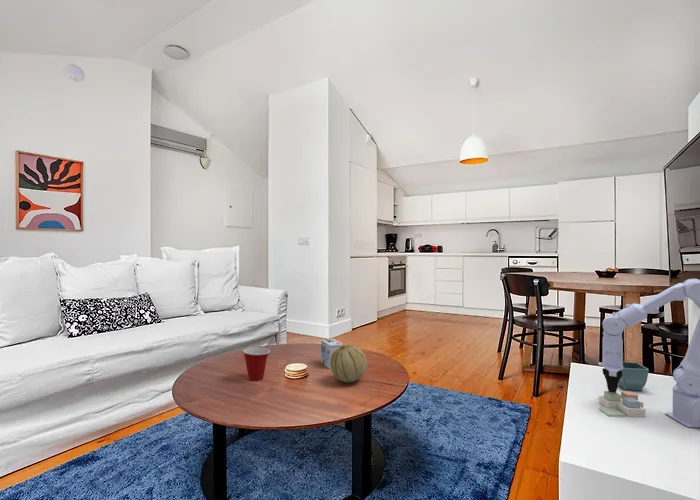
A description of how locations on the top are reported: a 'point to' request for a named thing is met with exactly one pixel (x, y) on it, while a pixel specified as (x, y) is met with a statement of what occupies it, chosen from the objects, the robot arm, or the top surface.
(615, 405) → the button strip
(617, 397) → the sage button
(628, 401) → the blue-grey cube
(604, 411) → the sage swatch
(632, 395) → the orange-brown cube
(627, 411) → the side socket
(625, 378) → the flower pot
